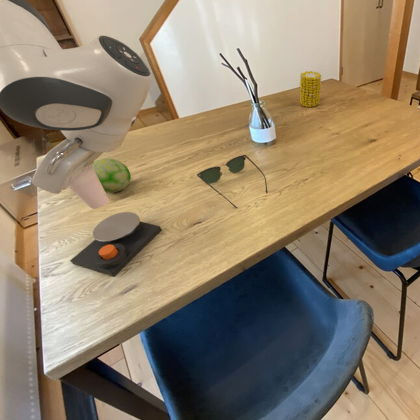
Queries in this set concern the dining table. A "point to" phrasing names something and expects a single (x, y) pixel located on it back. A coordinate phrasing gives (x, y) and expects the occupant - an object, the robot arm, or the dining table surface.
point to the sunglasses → (214, 173)
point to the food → (310, 88)
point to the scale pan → (116, 227)
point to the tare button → (108, 252)
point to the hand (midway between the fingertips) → (74, 173)
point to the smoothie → (89, 188)
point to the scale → (125, 248)
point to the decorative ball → (112, 174)
